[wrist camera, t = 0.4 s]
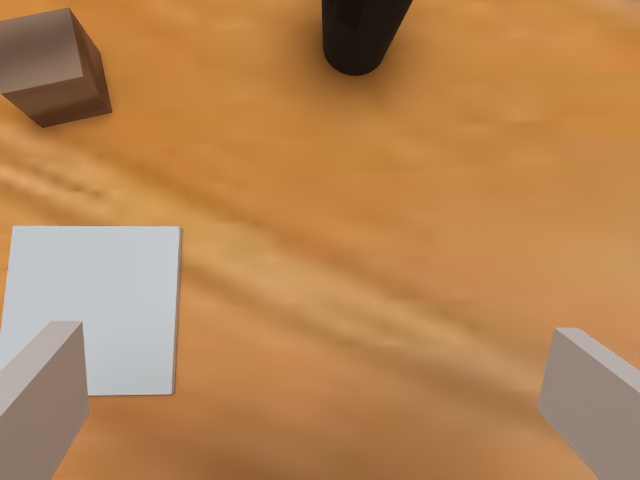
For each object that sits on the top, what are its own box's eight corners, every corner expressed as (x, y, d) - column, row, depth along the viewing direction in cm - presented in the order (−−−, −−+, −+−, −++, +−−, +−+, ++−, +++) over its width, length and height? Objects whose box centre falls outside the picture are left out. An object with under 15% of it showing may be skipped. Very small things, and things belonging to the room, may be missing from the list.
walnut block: (112, 112, 34) (83, 76, 30) (42, 128, 34) (0, 93, 29) (100, 52, 35) (69, 7, 30) (31, 66, 35) (-12, 23, 30)
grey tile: (174, 392, 31) (171, 394, 30) (0, 395, 30) (-8, 397, 29) (182, 229, 33) (179, 226, 32) (19, 228, 32) (13, 225, 32)
